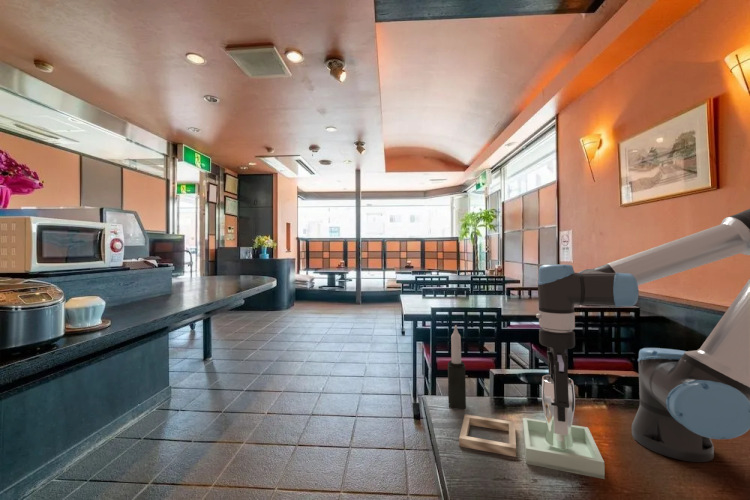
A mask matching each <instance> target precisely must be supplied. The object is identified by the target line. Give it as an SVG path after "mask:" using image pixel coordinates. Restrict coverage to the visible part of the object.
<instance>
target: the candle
mask: <svg viewBox="0 0 750 500" xmlns="http://www.w3.org/2000/svg"><path fill="white" fill-rule="evenodd" d="M450 338H451V339H450V341H451V342H450V343H451V344H450V345H451V346H450V347H451V349H450V351H451V352H450V354H451V356H450V357H451V360H448V362H447V390H448V392H447V395H448V402H447V403H448V407H449V409H454V410H466V408H467V391H466V365H465V363H464V361H462V341H461V339H462V336H461V334H460V333H459V331H458V326H457V324H456V325H454V329H453V332H452V334H451V336H450Z"/></svg>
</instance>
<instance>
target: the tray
mask: <svg viewBox="0 0 750 500" xmlns="http://www.w3.org/2000/svg"><path fill="white" fill-rule="evenodd" d="M571 431H572V438H573V443H574V447H573V448H572V449H569V450H562V449H557V448H554V447H552V446H550V445H549V444H547V443H546V441H545V433H546V420H541V419H533V418H527V417H522V435H523V444H524V455H525V464H526V465H530V466H536V467H540V468H545V469H550V470H551V469H552V470H555V471H560V472H566V473H571V474H577V475H581V476H586V477H591V478H592V477H593V478H595V479H596V478H597V479H601V480H602V479H603V480H605V479H606V478H605V477H606V476H605V474H606V473H605V467H606V466H605V461H604V459H603V457H602V454H601V452H600V450H599V448H598V446H597V444H596V441H595V439H594V437H593V435H592V432H591V431H590V429H589V427H587V426H581V425H573V424H572V428H571Z"/></svg>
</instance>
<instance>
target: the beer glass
mask: <svg viewBox="0 0 750 500" xmlns="http://www.w3.org/2000/svg"><path fill="white" fill-rule="evenodd" d="M541 377H542V378H541V403H542V409H543V413H544V419H545V421H546V433H545V441H546V443H547V444H549V445H550V446H552V447H554V448H557V449H562V450H569V449H572V448H573V447H574V443H573V438H572V431H571V428H572V425H573V421H574V420H573V419H574V414H575V408H576V395H575V385H574V380H573V379H571V378H569V377H568V395H569V408H567V410H568V435H561V434H555V433H554V406H553V405H551V402H553V403H554V401H555V400H554V383H553V379H552V378H551V375H549V374H545V375H543V376H541Z"/></svg>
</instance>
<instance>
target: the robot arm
mask: <svg viewBox="0 0 750 500" xmlns="http://www.w3.org/2000/svg"><path fill="white" fill-rule="evenodd" d="M739 254H742V255H745V256H750V208H748V209H745V210H743V211H741V212H738V213H736V214H733V215H729V216H727V217H725V218H724V219H722V221H721V223H720V224H718V225H715V226H711V227H709V228H706V229H703V230H701V231H697V232H695V233H692V234H688V235H685V236H683V237H681V238H677V239H674V240H672V241H669V242H665V243H663V244H660V245H658V246H654V247H652V248H649V249H646V250H643V251H639V252H637V253H634V254H631V255H629V256H625V257H623V258H622V257H621V258H620V259H617V260H614V261H611V262H608V263H606V264H603V265H599V266H597V267H593V268H587V269H584V270H581V271H579V272H576V271H575V270H574V267H573V265H572V264H561V263H559V264H556V263H554V264H549V263H548V264H543V265H542V264H541V265H540V266H539V267H538V273H537V293H538V295H537V296H538V297H537V299H538V313H537V314H535V316H536V317H535V318H537V319H538V325H539V327H540V328H539V329H538V331H539V332H538V340H539V341H538V342H539V344H540V345H541V346H543V347H546V348H547V350H546V357H547V366H548V375H551V378H552V379H553V383H554V400H555V401H554V403H553V402H551V405H553V406H554V433H555V434H561V435H568V410H567V408H569V395H568V378H569V377H568V376H569V370H568V369H569V357H568V355H567V353H566V352H565V350H567V349H568V350H570V349H573V348H575V346H576V336H575V335H576V333H575V331H574V330H575V329H576V322H575V321H576V319H575V318H576V315H575V314H576V312H575V305H576V306H601V307H616V308H620V307H633V306H635V305H636V304H637V303H638V300H639V294H640V293H639V286H642V285H645V284H647V283H651V282H654V281H656V280H660V279H663V278H667V277H670V276H673V275H675V274H680V273H683V272H687V271H689V270H693V269H695V268H698V267H701V266H704V265H708V264H711V263H714V262H718V261H721V260H723V259H726V258H727V259H728V258H730V257H733V256H736V255H737V256H738V255H739ZM637 362H638V385H639V386H638V388H639V389H638V390H639V392H638V395H639V406H638V409H637V412H636V414H635V417H634V418H633V421H632V423H631V435H632V438H633V440H635V441H636V442H637V443H639V444H640V445H641V446H643V447H644V448H646V449H648V450H650V451H651V452H655V453H656V454H659V455H662V456H665V457H668V458H672V459H675V460H680V461H683V462H689V463H707V462H711V461H712V460H713V459H714V457H715V447H714V443H713V441H712V440H731V439H732V440H733V439H735V438H738V437H741V436H743V435H744V434H746V433H747V432H748V431H749V430H750V278H749V279H748V280H747V281H746V283H745V284H744V286H743V287H742V289H741V290H740V292H738V295H737V296H736V297H735V299H734V300H733V301H732V302H731V304H730V305H729V306H728V309H726V311H725V312H724V314H723V315H722V317H721V318H720V319H719V320H718V322H717V324H716V325H715V326H714V328H713V329H712V330H711V332H710V333H709V335H708V336H707V337H706V339H705V341H703V343H702V345H701V346H700V348H698V349H697V350H695V349H694V350H688V351H686V350H680V349H673V348H662V347H661V348H660V347H643V348H640V349H639V351H638V358H637Z"/></svg>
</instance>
